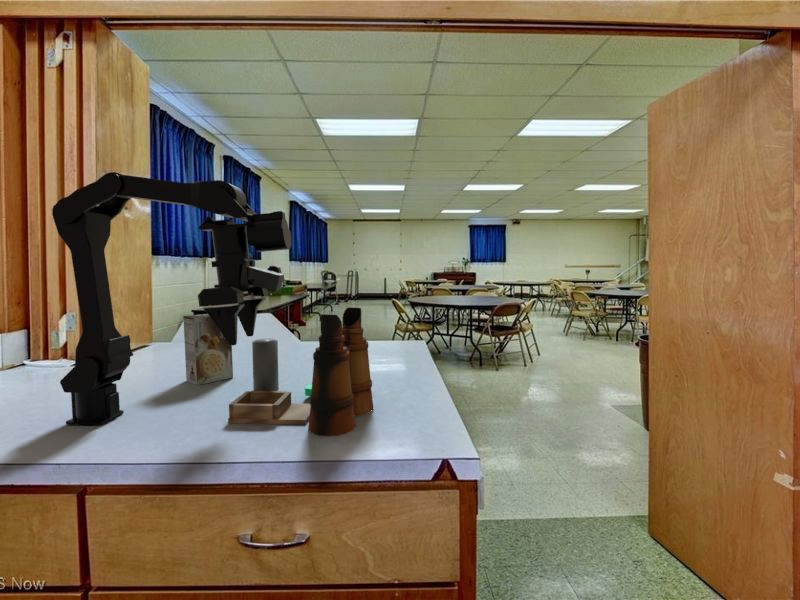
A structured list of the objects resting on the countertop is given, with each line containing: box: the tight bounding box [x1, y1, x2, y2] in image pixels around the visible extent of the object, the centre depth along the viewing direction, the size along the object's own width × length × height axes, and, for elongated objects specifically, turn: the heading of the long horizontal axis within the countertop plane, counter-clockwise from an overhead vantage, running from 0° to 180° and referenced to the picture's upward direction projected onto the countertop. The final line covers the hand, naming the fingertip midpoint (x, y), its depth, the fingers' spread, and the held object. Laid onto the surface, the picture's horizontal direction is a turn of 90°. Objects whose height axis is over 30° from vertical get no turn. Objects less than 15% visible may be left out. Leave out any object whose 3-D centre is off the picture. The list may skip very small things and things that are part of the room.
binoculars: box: [307, 307, 374, 437], centre depth 81 cm, size 18×8×20 cm, turn 165°
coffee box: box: [183, 313, 234, 386], centre depth 107 cm, size 9×6×16 cm
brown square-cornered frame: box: [227, 390, 311, 425], centre depth 82 cm, size 14×9×3 cm, turn 88°
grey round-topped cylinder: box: [251, 338, 280, 391], centre depth 91 cm, size 5×5×13 cm
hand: (242, 340), depth 79 cm, fingers open, 9 cm apart
